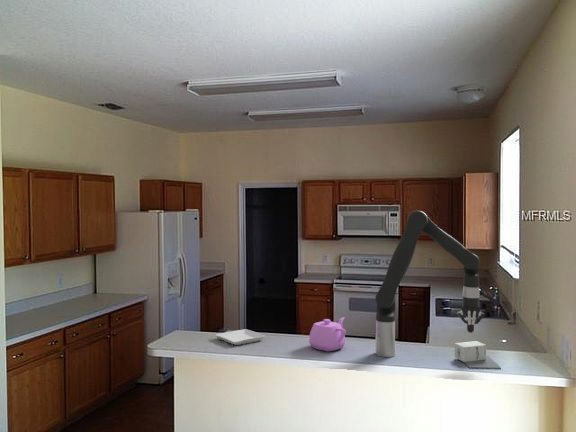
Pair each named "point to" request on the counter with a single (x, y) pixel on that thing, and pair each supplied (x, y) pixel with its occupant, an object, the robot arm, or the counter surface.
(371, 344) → the counter surface
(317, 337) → the teapot
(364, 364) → the counter surface
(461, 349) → the supplement box
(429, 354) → the counter surface
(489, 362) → the charcoal mat
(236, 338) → the salad plate
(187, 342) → the counter surface
